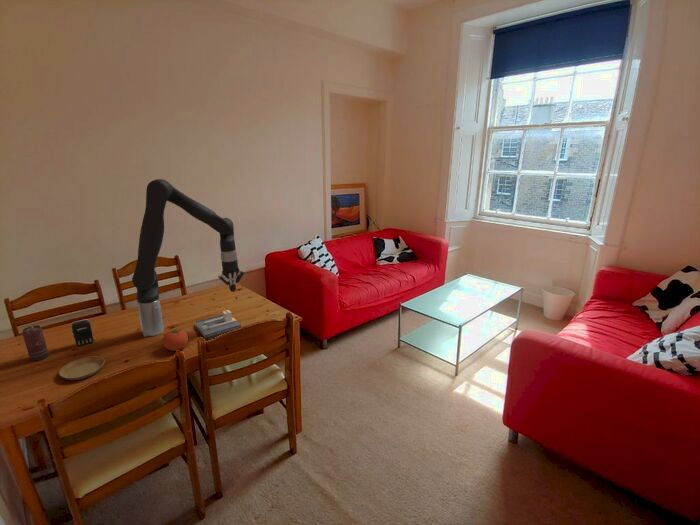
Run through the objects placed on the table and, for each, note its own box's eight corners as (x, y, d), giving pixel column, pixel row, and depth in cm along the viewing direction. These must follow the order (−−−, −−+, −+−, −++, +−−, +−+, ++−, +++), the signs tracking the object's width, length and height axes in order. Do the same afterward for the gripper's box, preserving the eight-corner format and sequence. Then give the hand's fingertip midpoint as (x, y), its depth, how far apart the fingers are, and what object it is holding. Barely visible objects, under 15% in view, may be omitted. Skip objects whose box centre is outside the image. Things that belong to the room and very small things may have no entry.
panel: (205, 338, 168) (204, 332, 167) (195, 326, 179) (194, 321, 178) (241, 328, 179) (240, 322, 178) (230, 317, 190) (229, 312, 189)
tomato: (172, 357, 152) (169, 337, 149) (159, 350, 157) (156, 330, 154) (193, 347, 160) (191, 327, 157) (180, 340, 165) (177, 321, 162)
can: (46, 351, 154) (39, 323, 149) (50, 357, 150) (42, 328, 146) (28, 357, 149) (20, 328, 145) (31, 363, 145) (23, 333, 141)
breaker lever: (226, 322, 179) (225, 313, 177) (223, 320, 182) (222, 310, 180) (232, 321, 180) (231, 311, 179) (229, 318, 183) (228, 309, 182)
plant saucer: (79, 386, 133) (78, 380, 132) (50, 379, 136) (49, 373, 135) (114, 365, 146) (113, 359, 145) (87, 359, 150) (86, 353, 149)
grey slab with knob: (208, 340, 167) (208, 336, 166) (196, 324, 181) (195, 321, 180) (241, 330, 176) (240, 327, 176) (226, 316, 191) (226, 313, 190)
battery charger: (76, 348, 157) (70, 325, 154) (75, 344, 160) (70, 322, 156) (95, 343, 162) (90, 320, 158) (94, 339, 164) (89, 317, 161)
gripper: (218, 263, 166) (222, 296, 171) (245, 258, 174) (248, 290, 179) (213, 259, 172) (217, 292, 177) (239, 254, 179) (242, 286, 185)
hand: (233, 291), depth 178 cm, fingers closed
